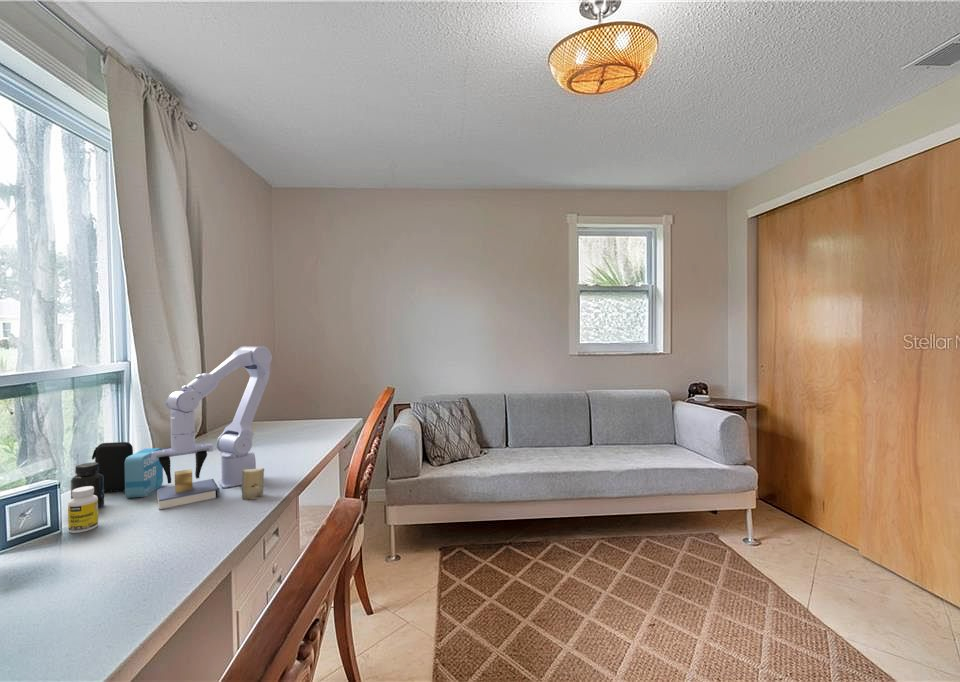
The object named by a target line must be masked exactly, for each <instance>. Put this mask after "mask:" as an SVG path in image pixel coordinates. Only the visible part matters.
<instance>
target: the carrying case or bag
mask: <svg viewBox="0 0 960 682" xmlns="http://www.w3.org/2000/svg"><path fill="white" fill-rule="evenodd" d="M133 454H134V448H133V445H132V444H131V443H130V442H127V441H119V442H118V441H117V442H116V441H115V442H102V443H100V444H98V446H96V447H95V449H94V450H93V453H92V457H91V460H92V461H93V460H94V462H97V463H99V470H98V472H101V473H103V475H104V493H108V492H109V493H110V491H112V492H125V460H126V458H127V457H128V456H130V455H133Z"/></svg>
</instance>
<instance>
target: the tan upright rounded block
mask: <svg viewBox="0 0 960 682" xmlns="http://www.w3.org/2000/svg"><path fill="white" fill-rule="evenodd" d="M264 472H265V468H263V467H261V468H256V469H248V470H243V471H242V473H243V476H242V485H241V497H242V499H243V500H255V499H258V498H261V497H263V495H264V483H265V481H264V478H265V477H264V475H265V474H264Z"/></svg>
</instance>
